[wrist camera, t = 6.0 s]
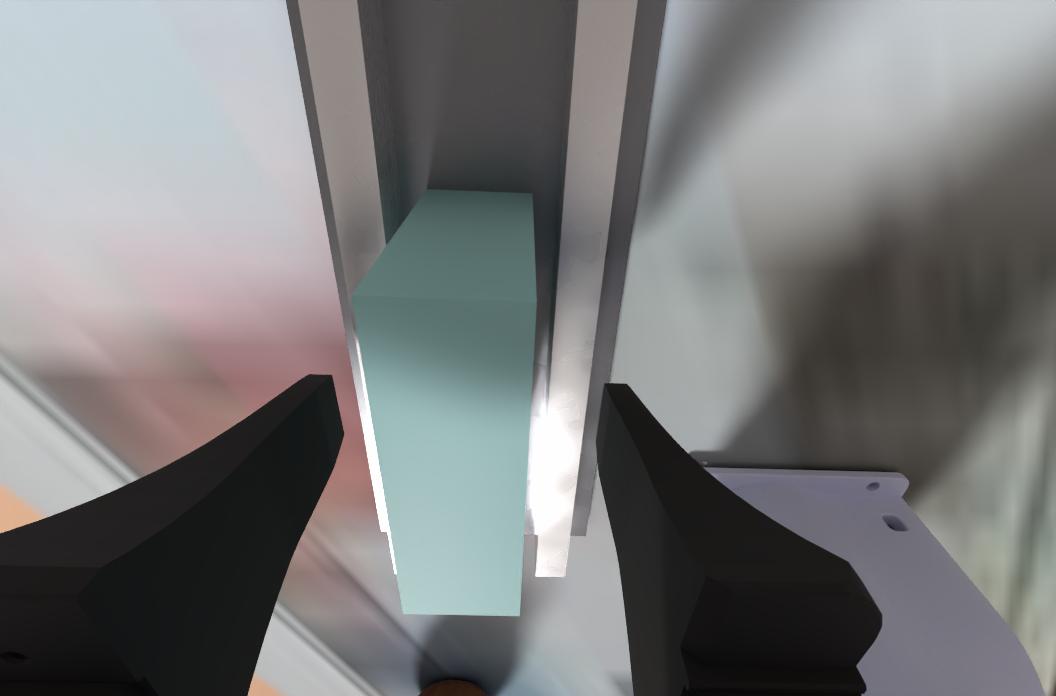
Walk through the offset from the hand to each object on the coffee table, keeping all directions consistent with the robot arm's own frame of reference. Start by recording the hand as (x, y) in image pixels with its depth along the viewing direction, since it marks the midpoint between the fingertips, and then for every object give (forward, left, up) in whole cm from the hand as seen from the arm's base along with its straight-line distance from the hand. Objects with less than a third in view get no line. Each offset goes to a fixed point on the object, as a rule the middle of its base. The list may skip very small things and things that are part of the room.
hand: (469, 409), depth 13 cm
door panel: (0, 0, -4) cm, 4 cm away
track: (0, -1, -4) cm, 5 cm away
